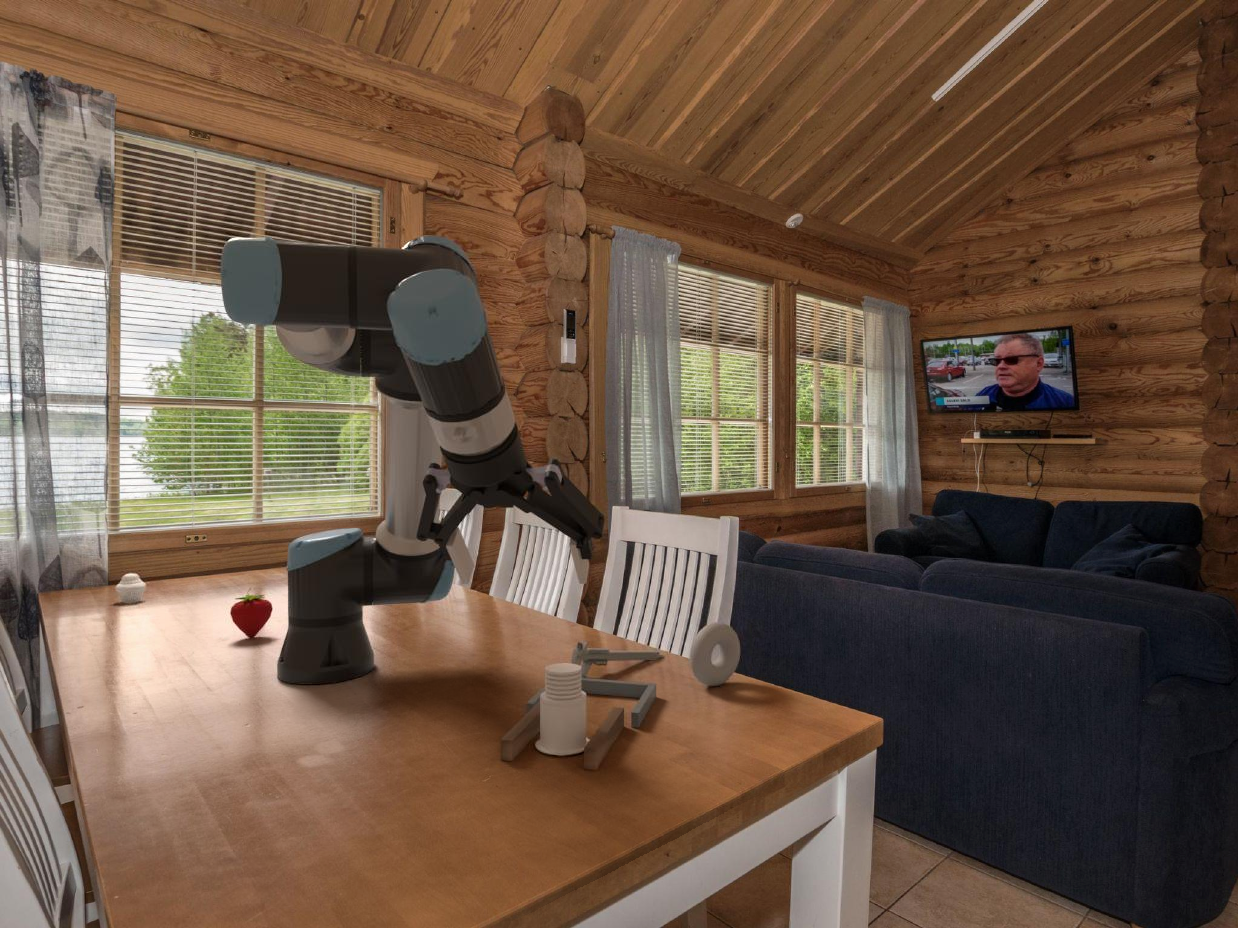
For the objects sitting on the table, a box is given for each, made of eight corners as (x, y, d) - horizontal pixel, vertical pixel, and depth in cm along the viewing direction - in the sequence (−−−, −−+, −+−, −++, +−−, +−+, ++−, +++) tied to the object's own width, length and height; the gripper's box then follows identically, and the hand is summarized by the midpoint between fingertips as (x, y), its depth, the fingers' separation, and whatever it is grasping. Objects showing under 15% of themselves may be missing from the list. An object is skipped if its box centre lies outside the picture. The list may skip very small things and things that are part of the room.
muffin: (123, 605, 176) (122, 575, 176) (110, 602, 179) (110, 573, 179) (151, 601, 181) (150, 571, 181) (138, 598, 185) (138, 569, 184)
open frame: (526, 717, 106) (526, 702, 106) (555, 688, 118) (555, 675, 118) (638, 727, 102) (638, 712, 102) (656, 696, 114) (656, 683, 114)
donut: (700, 694, 115) (700, 629, 115) (684, 689, 118) (684, 625, 117) (744, 681, 121) (745, 619, 121) (728, 676, 124) (729, 615, 124)
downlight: (589, 759, 92) (589, 676, 92) (531, 758, 92) (531, 675, 92) (592, 736, 100) (592, 660, 100) (539, 735, 100) (539, 659, 100)
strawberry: (276, 637, 148) (275, 586, 147) (234, 644, 143) (233, 591, 143) (269, 631, 152) (268, 582, 152) (227, 637, 148) (226, 586, 147)
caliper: (575, 683, 121) (575, 644, 121) (570, 681, 122) (570, 642, 122) (664, 658, 135) (664, 623, 135) (660, 657, 136) (660, 622, 136)
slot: (500, 759, 92) (500, 739, 92) (539, 718, 105) (539, 700, 105) (596, 770, 89) (596, 749, 89) (624, 726, 102) (624, 707, 102)
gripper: (340, 463, 71) (411, 600, 85) (602, 455, 67) (631, 601, 81) (367, 412, 76) (430, 549, 90) (611, 402, 72) (637, 547, 86)
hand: (525, 574), depth 86 cm, fingers open, 13 cm apart
